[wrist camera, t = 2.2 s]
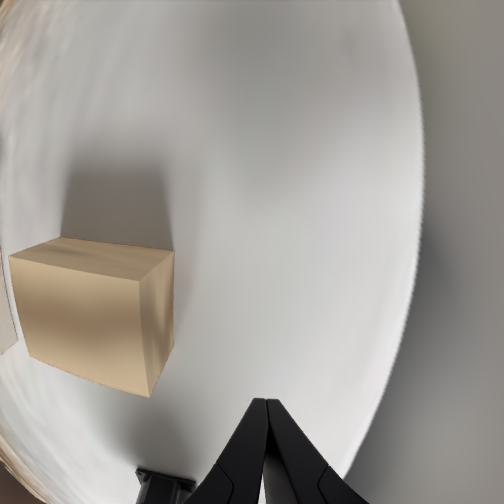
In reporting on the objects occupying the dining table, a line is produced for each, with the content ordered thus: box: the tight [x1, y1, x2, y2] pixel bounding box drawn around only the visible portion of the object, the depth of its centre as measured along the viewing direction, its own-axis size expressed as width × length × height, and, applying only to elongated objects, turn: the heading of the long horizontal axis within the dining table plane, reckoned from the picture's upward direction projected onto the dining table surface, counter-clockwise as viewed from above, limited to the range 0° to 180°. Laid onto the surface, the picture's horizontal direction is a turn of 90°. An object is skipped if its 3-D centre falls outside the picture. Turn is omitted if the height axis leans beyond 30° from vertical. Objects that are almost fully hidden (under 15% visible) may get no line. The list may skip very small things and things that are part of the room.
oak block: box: [8, 237, 174, 398], centre depth 13 cm, size 6×8×5 cm
